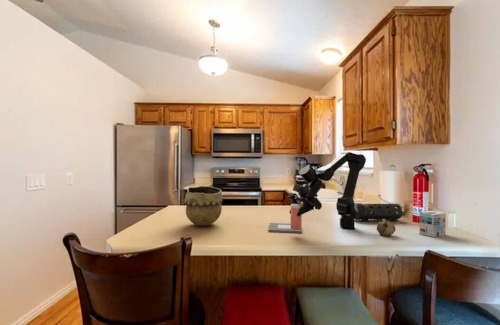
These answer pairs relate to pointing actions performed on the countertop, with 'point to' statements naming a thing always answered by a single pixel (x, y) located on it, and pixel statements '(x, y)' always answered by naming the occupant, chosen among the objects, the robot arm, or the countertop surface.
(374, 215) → the muzzle brake
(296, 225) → the salt shaker
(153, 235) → the countertop surface
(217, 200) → the clay pot
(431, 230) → the light bulb box
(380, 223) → the onion
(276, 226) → the mat
